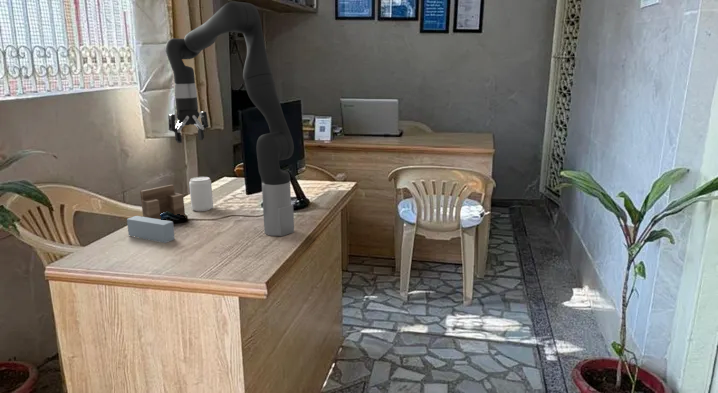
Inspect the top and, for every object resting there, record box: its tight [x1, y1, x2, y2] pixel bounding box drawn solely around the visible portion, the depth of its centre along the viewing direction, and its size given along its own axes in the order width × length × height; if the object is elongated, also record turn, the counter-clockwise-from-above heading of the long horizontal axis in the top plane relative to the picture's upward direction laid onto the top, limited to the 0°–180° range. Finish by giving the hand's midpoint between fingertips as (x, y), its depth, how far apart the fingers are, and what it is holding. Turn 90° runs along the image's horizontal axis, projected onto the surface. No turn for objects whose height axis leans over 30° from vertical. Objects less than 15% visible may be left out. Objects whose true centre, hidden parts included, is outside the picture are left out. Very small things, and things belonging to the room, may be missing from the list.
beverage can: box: [188, 176, 214, 212], centre depth 204 cm, size 8×8×12 cm
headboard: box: [139, 184, 186, 220], centre depth 189 cm, size 6×14×12 cm, turn 140°
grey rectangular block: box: [126, 215, 176, 244], centre depth 173 cm, size 16×4×6 cm, turn 65°
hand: (190, 141), depth 195 cm, fingers open, 8 cm apart
